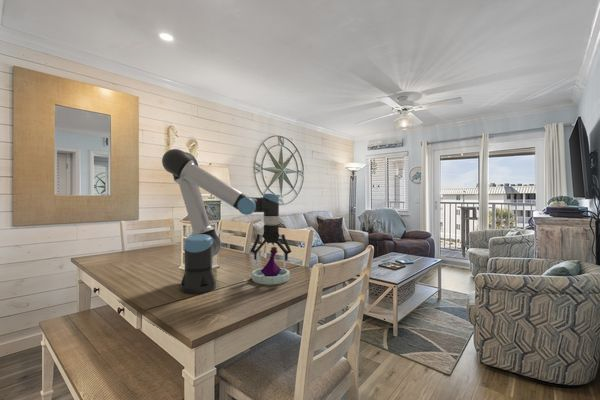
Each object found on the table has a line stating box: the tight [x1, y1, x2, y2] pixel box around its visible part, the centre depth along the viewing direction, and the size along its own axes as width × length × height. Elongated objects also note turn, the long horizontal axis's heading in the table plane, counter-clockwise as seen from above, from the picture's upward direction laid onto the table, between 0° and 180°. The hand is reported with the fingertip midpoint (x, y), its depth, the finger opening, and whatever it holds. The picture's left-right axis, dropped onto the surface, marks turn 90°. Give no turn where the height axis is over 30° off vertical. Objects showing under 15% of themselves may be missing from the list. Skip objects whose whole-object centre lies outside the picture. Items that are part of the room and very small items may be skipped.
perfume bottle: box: [261, 242, 281, 277], centre depth 146 cm, size 8×8×18 cm
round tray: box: [251, 267, 291, 286], centre depth 145 cm, size 18×18×4 cm
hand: (270, 266), depth 145 cm, fingers open, 13 cm apart
